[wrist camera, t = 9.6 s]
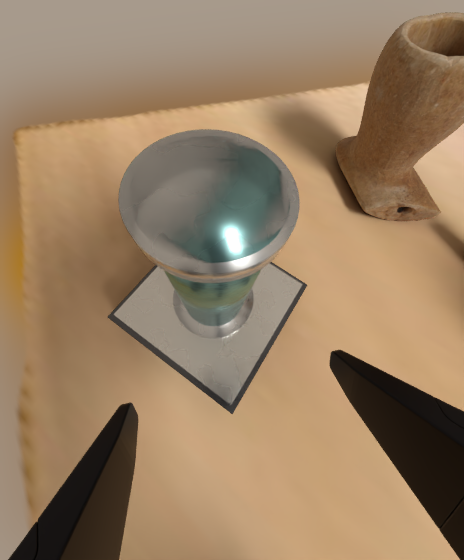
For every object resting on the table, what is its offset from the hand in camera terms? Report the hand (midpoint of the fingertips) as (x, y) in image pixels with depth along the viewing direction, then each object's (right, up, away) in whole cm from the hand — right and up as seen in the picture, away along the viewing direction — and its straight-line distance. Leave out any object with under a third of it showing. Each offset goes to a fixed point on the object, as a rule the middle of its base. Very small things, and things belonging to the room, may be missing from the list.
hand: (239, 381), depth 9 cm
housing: (-2, +3, +10) cm, 10 cm away
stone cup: (+19, +18, +21) cm, 33 cm away
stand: (-2, +2, +13) cm, 13 cm away
